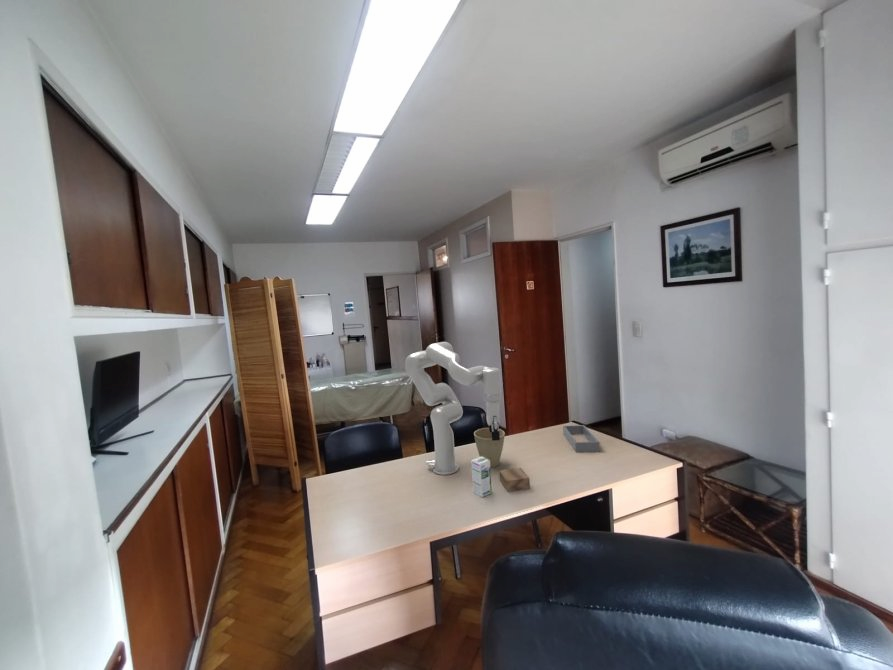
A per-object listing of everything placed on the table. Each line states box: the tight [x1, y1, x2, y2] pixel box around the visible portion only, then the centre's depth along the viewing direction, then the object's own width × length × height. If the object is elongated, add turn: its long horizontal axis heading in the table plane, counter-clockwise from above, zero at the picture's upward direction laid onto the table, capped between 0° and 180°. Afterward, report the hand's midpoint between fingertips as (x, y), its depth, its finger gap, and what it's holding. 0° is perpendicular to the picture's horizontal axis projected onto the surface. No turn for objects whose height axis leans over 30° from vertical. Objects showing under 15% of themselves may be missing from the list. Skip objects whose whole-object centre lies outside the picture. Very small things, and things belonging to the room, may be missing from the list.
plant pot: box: [473, 427, 506, 468], centre depth 185 cm, size 15×15×16 cm
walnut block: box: [499, 467, 531, 493], centre depth 165 cm, size 10×10×5 cm
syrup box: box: [470, 456, 493, 498], centre depth 159 cm, size 6×6×14 cm
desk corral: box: [562, 424, 601, 453], centre depth 206 cm, size 12×26×5 cm, turn 176°
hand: (494, 435), depth 162 cm, fingers open, 9 cm apart
